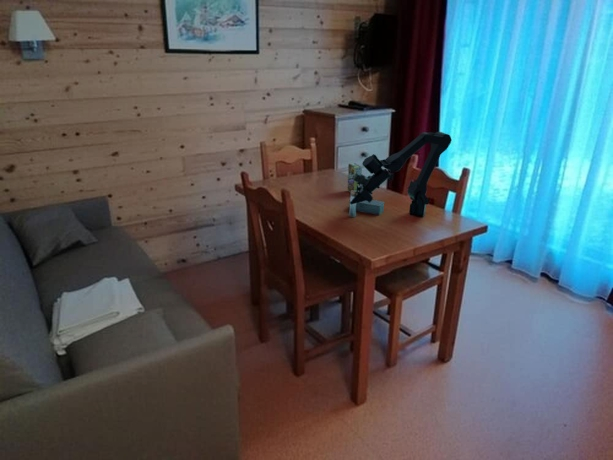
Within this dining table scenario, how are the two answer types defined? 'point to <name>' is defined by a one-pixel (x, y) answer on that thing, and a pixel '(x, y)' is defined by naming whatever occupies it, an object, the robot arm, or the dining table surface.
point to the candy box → (351, 172)
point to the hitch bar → (370, 207)
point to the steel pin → (353, 206)
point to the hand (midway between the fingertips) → (350, 202)
